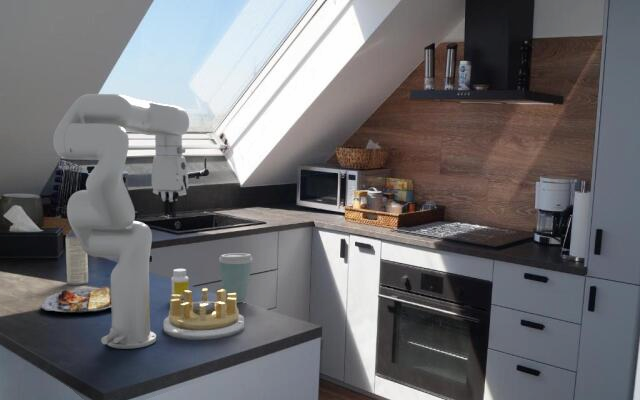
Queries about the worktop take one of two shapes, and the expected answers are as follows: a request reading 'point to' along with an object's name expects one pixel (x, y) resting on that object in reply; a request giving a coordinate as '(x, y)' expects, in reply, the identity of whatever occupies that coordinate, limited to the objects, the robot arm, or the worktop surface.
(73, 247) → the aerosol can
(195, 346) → the worktop surface
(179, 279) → the supplement bottle
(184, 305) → the bladed impeller wheel
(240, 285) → the disposable coffee cup
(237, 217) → the worktop surface
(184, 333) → the light grey round disc
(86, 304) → the food plate
